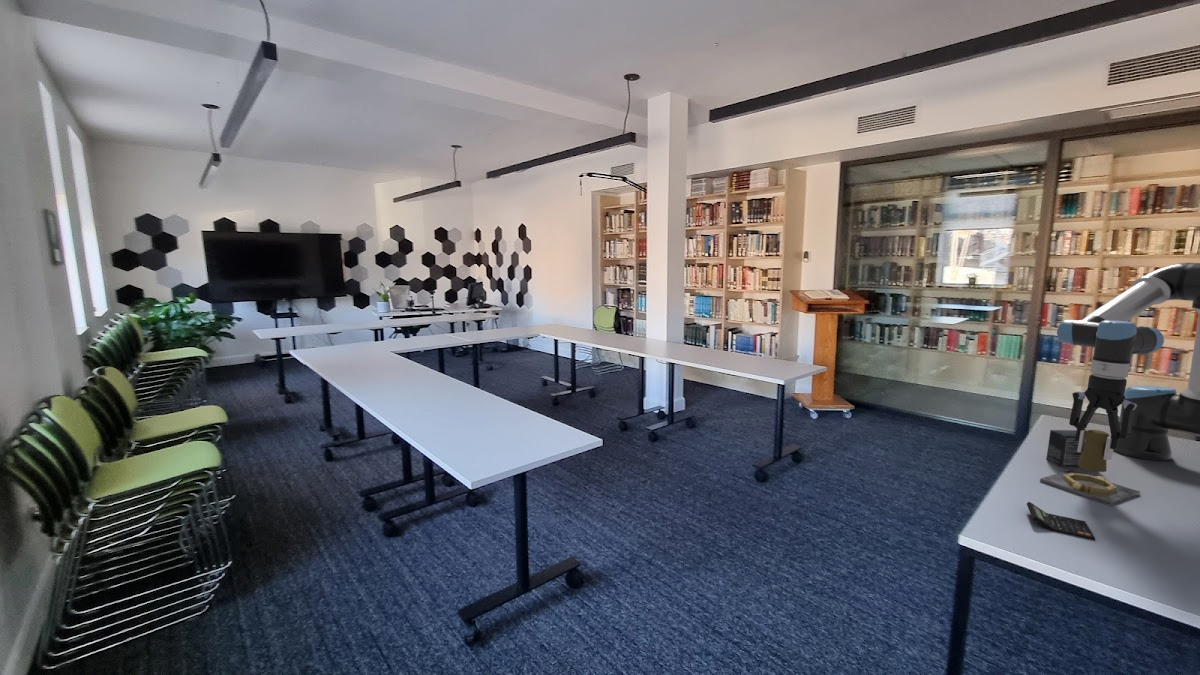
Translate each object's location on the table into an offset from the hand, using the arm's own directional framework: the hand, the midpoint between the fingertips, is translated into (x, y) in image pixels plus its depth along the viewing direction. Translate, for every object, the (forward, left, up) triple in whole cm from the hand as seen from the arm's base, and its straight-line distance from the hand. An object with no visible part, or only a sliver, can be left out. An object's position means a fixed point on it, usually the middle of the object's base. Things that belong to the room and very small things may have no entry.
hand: (1094, 455), depth 147 cm
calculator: (+33, +8, -11) cm, 36 cm away
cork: (0, 0, -4) cm, 4 cm away
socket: (0, 0, -10) cm, 10 cm away
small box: (-17, -12, -10) cm, 23 cm away
